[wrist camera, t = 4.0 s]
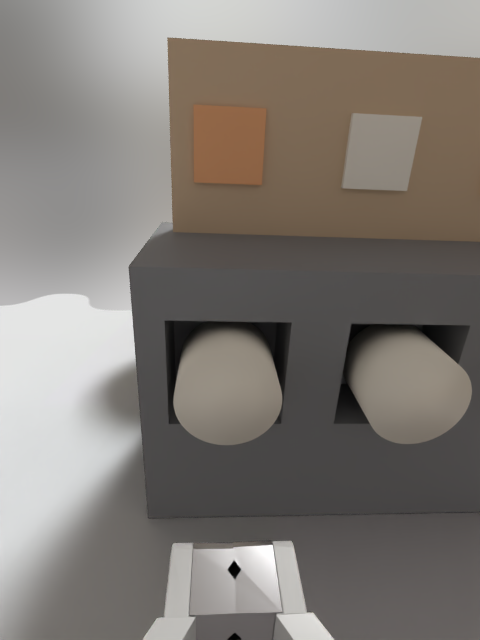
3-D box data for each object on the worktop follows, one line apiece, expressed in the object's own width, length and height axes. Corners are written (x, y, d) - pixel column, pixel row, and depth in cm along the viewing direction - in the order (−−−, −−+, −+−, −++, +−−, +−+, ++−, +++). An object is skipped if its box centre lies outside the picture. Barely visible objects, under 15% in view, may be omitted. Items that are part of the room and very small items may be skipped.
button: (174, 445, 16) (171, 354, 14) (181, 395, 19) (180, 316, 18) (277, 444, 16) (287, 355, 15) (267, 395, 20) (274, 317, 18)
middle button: (359, 444, 17) (378, 356, 15) (335, 395, 20) (349, 319, 18) (455, 443, 17) (485, 357, 15) (417, 396, 20) (437, 320, 19)
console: (148, 518, 21) (105, -28, 11) (169, 405, 30) (155, 51, 20) (565, 510, 22) (827, 27, 13) (464, 405, 31) (575, 77, 22)
